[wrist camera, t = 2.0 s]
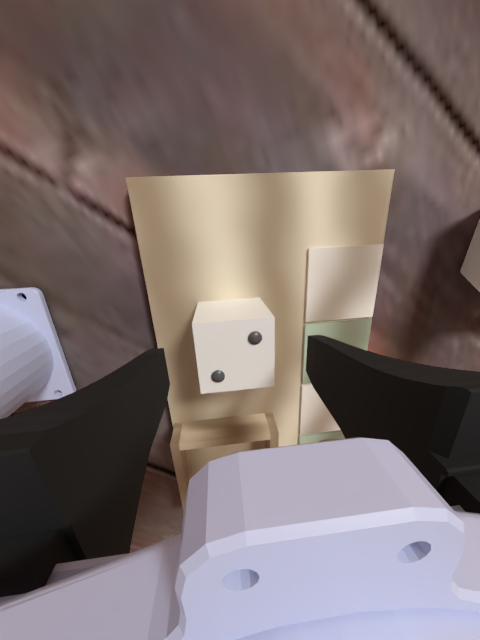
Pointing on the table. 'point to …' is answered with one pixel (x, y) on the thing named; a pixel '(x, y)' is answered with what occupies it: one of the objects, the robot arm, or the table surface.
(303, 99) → the table surface
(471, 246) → the figurine
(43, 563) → the robot arm
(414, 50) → the table surface
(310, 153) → the table surface
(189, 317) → the game board
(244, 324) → the die
